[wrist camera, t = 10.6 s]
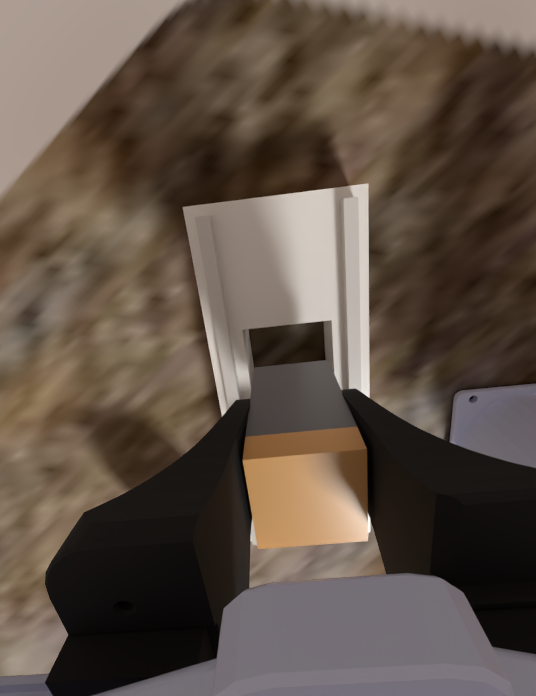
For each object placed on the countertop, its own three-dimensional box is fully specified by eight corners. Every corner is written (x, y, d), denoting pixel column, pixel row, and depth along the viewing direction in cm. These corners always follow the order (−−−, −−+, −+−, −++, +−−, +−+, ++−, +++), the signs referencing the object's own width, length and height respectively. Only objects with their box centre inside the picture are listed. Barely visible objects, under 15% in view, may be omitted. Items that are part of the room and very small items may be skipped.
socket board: (197, 210, 17) (178, 206, 13) (351, 191, 16) (373, 181, 13) (248, 504, 24) (244, 551, 20) (358, 495, 23) (373, 542, 20)
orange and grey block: (331, 423, 15) (368, 541, 9) (262, 429, 15) (258, 549, 9) (328, 359, 14) (367, 448, 8) (254, 367, 14) (242, 459, 8)
